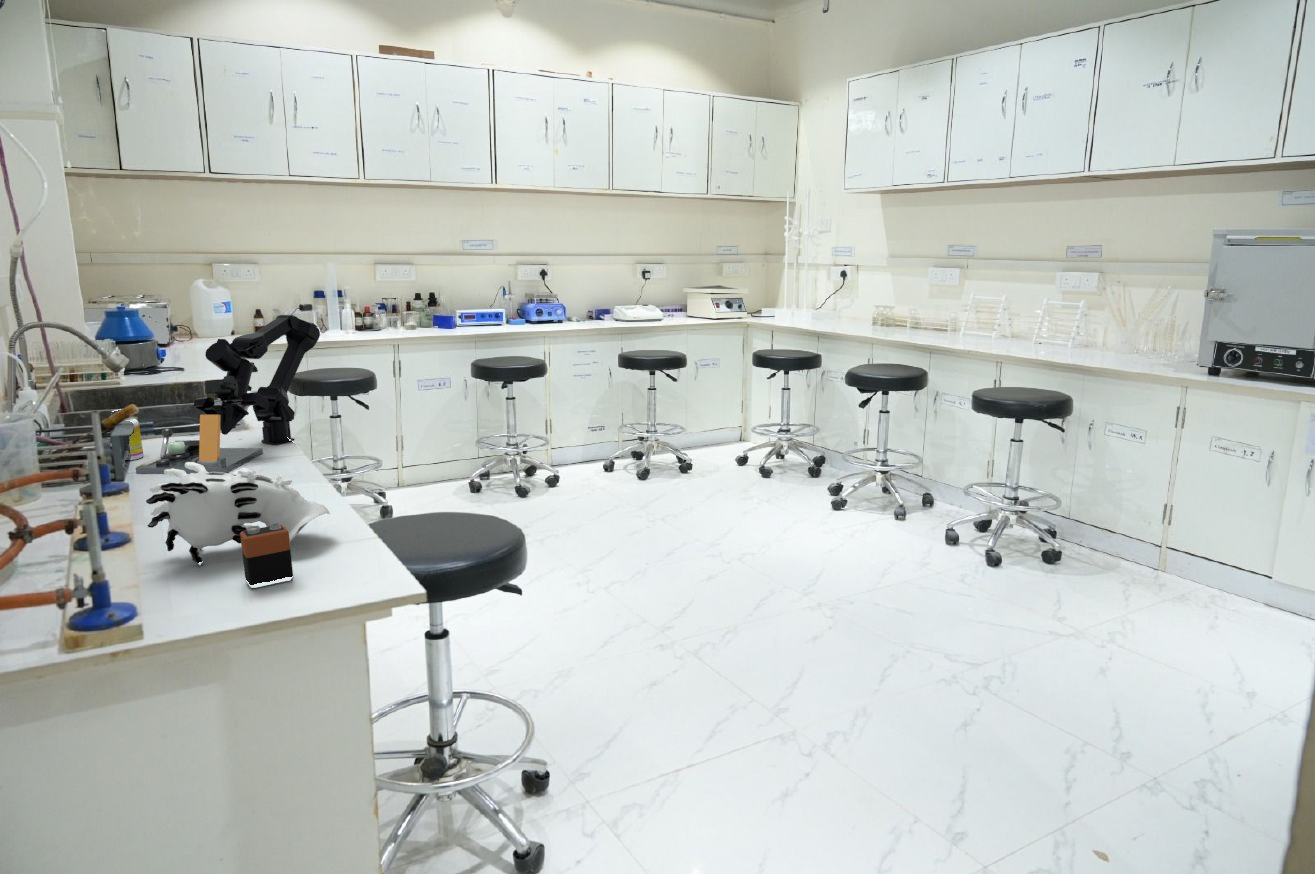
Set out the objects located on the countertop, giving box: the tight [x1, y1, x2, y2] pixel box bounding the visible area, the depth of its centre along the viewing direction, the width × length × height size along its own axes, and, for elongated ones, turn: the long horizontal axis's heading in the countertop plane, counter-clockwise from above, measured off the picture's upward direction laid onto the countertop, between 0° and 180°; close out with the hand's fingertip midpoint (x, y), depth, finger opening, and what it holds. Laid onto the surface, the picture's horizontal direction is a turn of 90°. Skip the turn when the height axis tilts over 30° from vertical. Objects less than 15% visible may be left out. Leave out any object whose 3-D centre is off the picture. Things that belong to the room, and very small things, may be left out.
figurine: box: [145, 462, 330, 564], centre depth 153 cm, size 17×16×30 cm
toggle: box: [159, 427, 174, 459], centre depth 209 cm, size 2×2×8 cm
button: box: [167, 440, 185, 454], centre depth 214 cm, size 4×4×2 cm
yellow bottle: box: [111, 408, 144, 461], centre depth 218 cm, size 7×7×13 cm
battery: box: [240, 523, 294, 585], centre depth 140 cm, size 4×7×10 cm, turn 126°
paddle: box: [197, 414, 221, 467], centre depth 206 cm, size 2×5×13 cm, turn 90°
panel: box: [135, 445, 264, 475], centre depth 215 cm, size 21×22×4 cm
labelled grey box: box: [174, 439, 200, 446], centre depth 220 cm, size 7×4×1 cm, turn 0°
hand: (224, 434), depth 214 cm, fingers closed
